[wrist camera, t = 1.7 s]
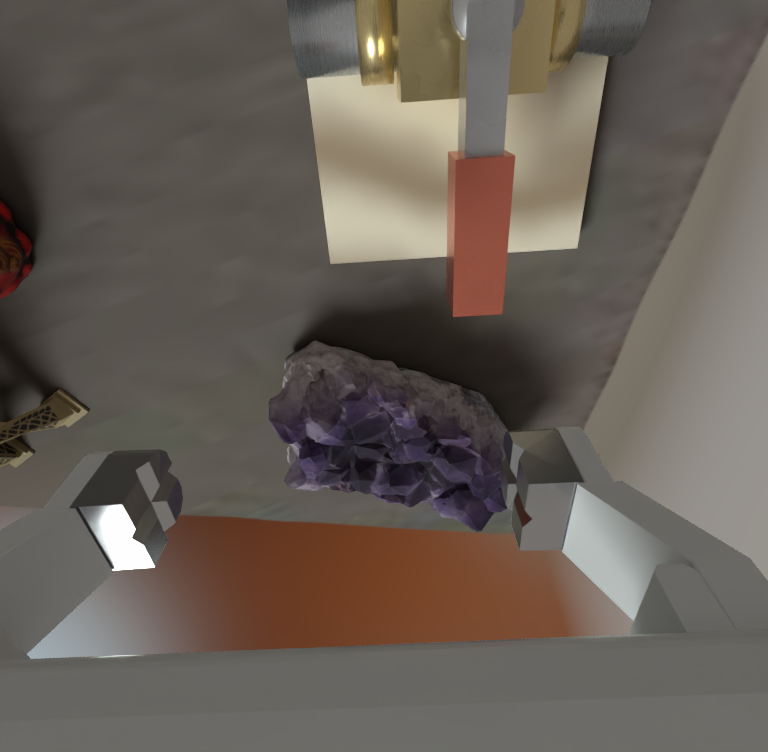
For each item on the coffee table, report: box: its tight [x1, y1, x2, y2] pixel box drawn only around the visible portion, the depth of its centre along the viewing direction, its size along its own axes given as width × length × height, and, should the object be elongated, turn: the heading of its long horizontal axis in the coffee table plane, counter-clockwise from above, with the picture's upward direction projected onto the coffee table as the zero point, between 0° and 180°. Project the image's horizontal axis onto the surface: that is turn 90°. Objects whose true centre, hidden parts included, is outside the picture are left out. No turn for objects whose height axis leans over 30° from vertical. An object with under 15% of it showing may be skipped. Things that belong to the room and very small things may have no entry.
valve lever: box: [446, 0, 525, 317], centre depth 20 cm, size 13×3×3 cm, turn 4°
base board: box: [307, 56, 608, 264], centre depth 24 cm, size 24×16×2 cm, turn 4°
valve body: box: [287, 0, 651, 103], centre depth 22 cm, size 6×16×6 cm, turn 94°
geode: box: [269, 341, 508, 532], centre depth 35 cm, size 20×12×10 cm, turn 73°
